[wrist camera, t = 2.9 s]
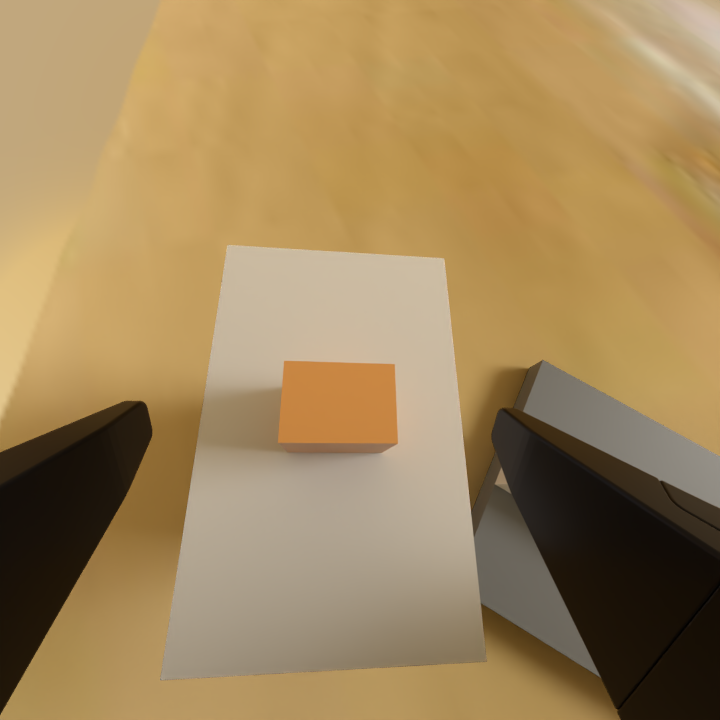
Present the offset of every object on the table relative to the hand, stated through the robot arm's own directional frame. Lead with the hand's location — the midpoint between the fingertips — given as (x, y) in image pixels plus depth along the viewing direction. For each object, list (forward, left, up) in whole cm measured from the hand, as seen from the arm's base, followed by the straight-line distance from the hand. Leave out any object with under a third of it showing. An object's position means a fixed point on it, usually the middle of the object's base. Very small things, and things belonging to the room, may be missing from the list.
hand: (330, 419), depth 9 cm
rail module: (0, 0, -7) cm, 7 cm away
